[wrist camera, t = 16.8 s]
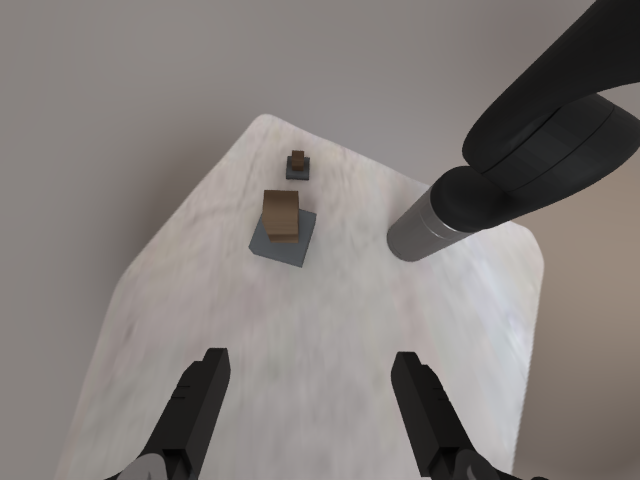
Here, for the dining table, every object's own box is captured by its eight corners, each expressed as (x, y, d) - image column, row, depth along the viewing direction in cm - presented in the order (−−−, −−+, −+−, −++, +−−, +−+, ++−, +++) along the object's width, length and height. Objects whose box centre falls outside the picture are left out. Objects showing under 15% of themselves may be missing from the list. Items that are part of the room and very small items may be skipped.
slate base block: (301, 268, 46) (301, 262, 41) (253, 254, 46) (248, 247, 41) (315, 223, 49) (316, 213, 44) (270, 211, 49) (267, 200, 44)
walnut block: (298, 243, 42) (297, 222, 32) (270, 242, 42) (261, 221, 32) (299, 218, 43) (298, 191, 34) (272, 217, 43) (264, 189, 34)
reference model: (308, 180, 52) (309, 166, 47) (286, 178, 51) (284, 164, 47) (309, 161, 53) (310, 146, 49) (288, 160, 53) (286, 145, 48)
